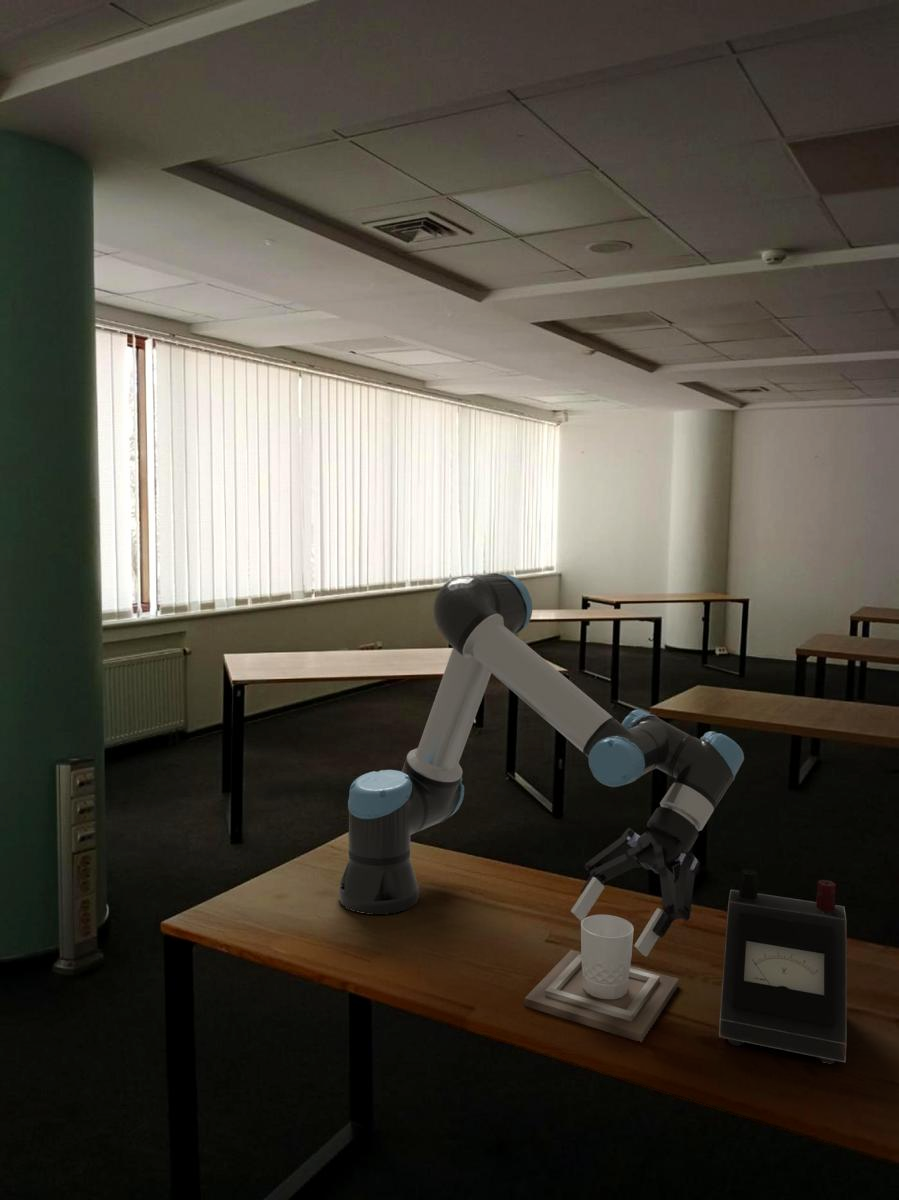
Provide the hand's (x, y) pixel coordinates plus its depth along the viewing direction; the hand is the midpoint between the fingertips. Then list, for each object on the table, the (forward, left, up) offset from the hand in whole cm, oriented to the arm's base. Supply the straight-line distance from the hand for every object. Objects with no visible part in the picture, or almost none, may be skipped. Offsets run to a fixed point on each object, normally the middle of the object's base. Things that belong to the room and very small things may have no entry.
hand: (606, 933), depth 138 cm
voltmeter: (+25, +5, -10) cm, 27 cm away
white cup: (0, 0, -9) cm, 9 cm away
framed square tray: (0, 0, -10) cm, 10 cm away
